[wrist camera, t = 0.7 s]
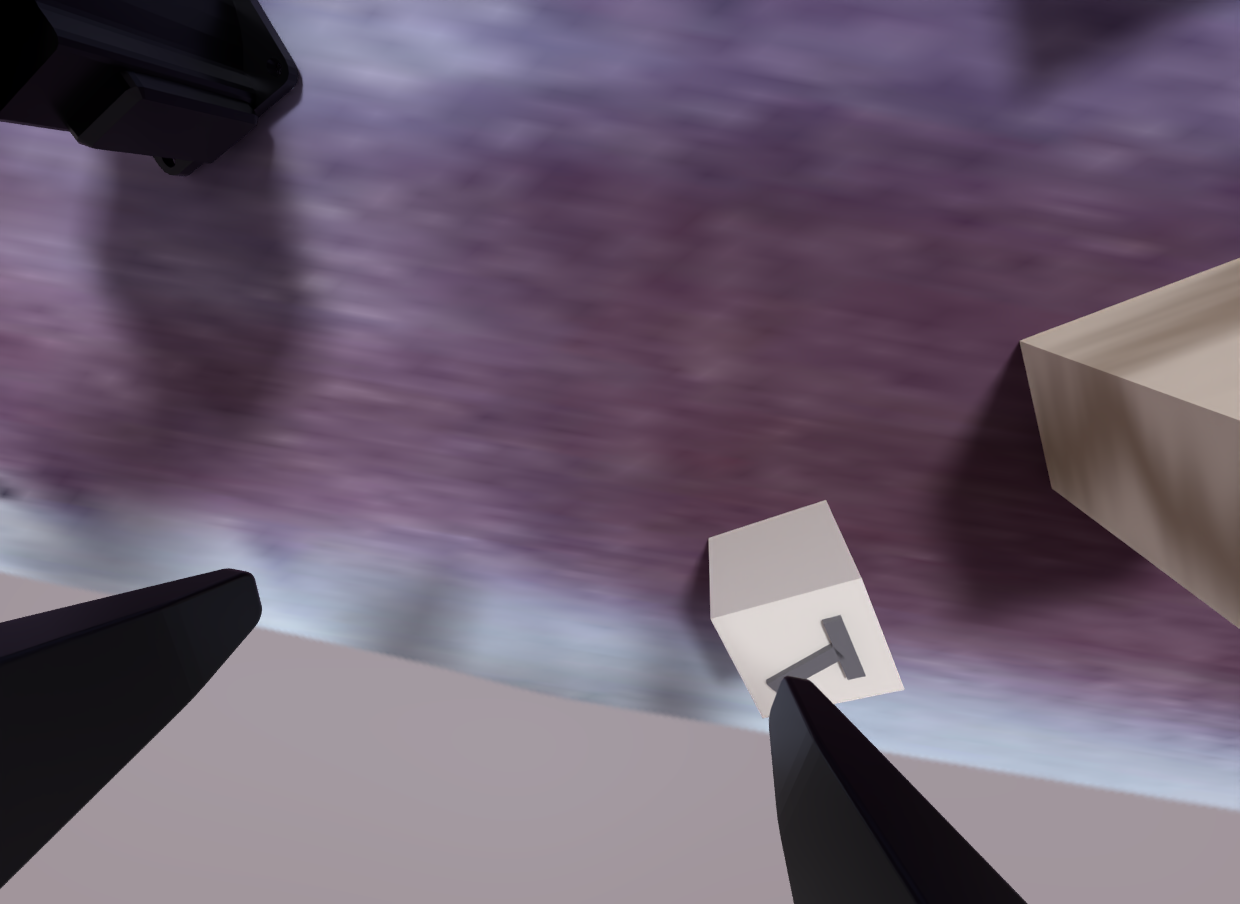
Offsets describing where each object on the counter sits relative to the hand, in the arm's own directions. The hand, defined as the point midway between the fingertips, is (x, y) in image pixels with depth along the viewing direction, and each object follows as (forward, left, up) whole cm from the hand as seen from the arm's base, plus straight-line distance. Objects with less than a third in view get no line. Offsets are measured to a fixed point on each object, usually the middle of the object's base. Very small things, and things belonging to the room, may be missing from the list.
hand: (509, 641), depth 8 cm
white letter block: (+10, +3, -13) cm, 16 cm away
